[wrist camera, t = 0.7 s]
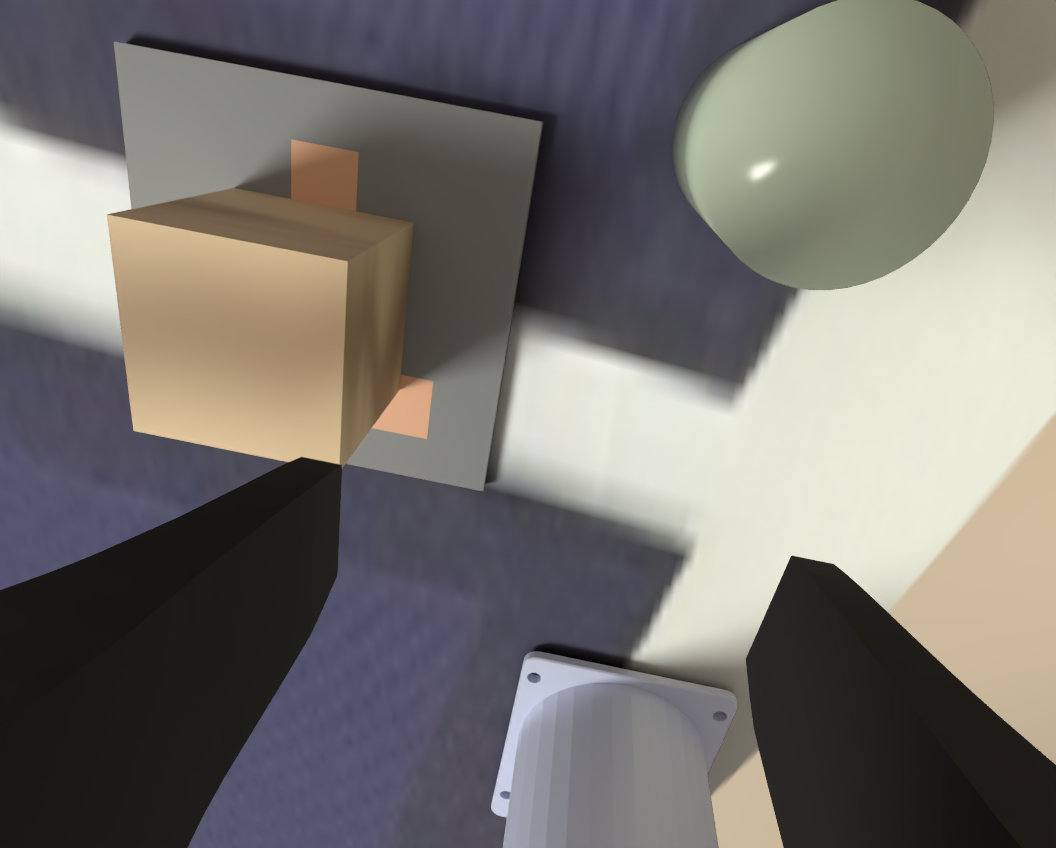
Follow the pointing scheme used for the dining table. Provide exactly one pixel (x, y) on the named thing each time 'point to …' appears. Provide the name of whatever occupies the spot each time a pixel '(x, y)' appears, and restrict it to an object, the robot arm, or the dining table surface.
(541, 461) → the dining table surface
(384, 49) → the dining table surface
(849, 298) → the dining table surface
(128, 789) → the robot arm
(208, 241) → the oak block
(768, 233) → the sage cylinder
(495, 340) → the letter tile
